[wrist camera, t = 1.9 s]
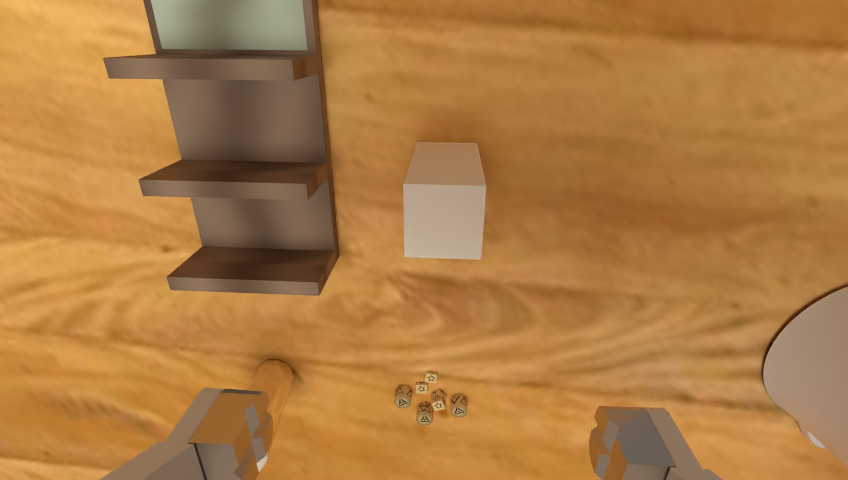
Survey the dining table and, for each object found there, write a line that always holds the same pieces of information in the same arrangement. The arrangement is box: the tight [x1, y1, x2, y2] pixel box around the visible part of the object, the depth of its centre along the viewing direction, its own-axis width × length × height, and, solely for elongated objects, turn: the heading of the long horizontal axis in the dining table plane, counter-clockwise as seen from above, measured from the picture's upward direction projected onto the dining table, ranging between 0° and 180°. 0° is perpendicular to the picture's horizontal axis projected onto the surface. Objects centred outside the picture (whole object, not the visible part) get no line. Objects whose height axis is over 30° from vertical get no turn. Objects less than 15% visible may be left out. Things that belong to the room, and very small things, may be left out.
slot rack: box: [103, 0, 339, 296], centre depth 26 cm, size 10×21×6 cm, turn 0°
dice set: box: [394, 371, 467, 425], centre depth 38 cm, size 5×5×2 cm
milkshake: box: [243, 360, 294, 471], centre depth 34 cm, size 4×5×10 cm
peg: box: [403, 142, 486, 260], centre depth 26 cm, size 4×4×9 cm
